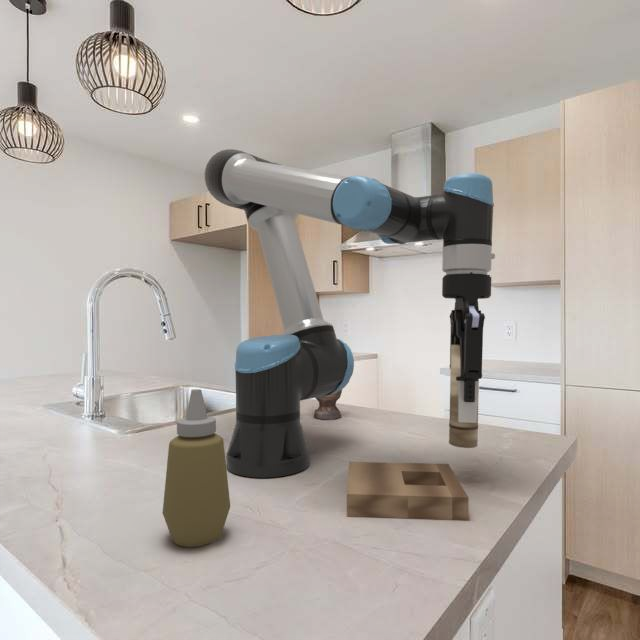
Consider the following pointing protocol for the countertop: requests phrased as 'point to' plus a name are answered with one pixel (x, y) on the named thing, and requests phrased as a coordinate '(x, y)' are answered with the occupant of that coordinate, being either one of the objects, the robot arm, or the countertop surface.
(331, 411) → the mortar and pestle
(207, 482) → the squeeze bottle
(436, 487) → the board
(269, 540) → the countertop surface
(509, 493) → the countertop surface
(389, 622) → the countertop surface
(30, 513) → the countertop surface
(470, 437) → the peg
